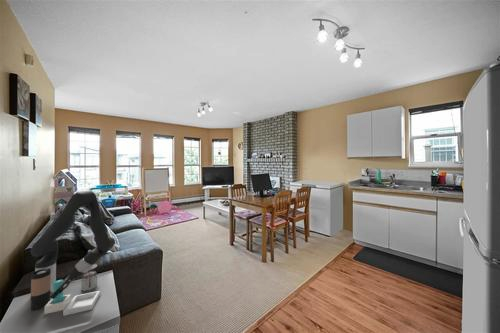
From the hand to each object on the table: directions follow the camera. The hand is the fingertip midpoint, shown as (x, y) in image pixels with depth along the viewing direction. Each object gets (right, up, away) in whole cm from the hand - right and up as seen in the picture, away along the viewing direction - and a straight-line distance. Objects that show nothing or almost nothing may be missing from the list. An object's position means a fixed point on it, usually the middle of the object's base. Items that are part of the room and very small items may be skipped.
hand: (53, 295), depth 107 cm
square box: (+2, -8, +1) cm, 8 cm away
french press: (+4, -9, +19) cm, 21 cm away
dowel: (+2, -7, +1) cm, 7 cm away
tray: (+14, -8, +2) cm, 16 cm away
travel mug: (-10, -9, +2) cm, 13 cm away
